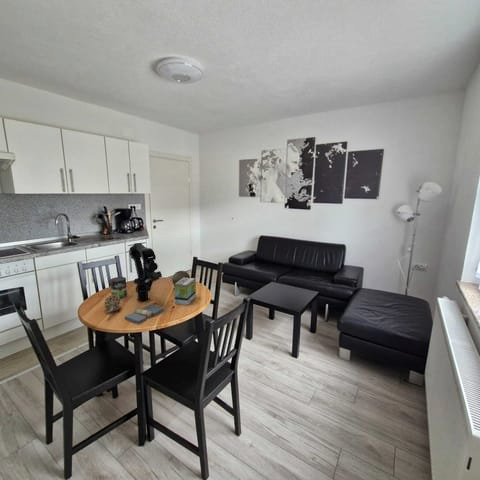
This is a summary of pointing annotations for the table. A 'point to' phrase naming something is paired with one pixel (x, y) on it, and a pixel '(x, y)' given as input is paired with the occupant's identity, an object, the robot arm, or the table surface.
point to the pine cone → (112, 303)
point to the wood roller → (144, 312)
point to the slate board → (139, 318)
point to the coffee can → (119, 287)
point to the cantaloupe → (179, 276)
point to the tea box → (185, 291)
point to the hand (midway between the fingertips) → (149, 290)
